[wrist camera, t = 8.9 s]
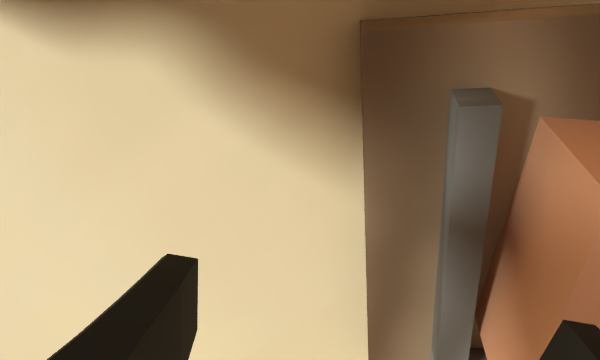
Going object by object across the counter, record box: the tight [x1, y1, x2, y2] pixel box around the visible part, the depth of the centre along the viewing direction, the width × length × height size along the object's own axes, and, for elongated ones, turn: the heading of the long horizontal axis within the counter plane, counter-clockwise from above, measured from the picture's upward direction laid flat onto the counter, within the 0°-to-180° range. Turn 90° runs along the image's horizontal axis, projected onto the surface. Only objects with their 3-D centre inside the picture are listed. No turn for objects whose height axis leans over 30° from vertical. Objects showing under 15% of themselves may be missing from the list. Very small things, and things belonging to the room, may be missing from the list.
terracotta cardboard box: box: [474, 116, 600, 360], centre depth 15 cm, size 4×9×5 cm, turn 178°
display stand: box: [360, 4, 600, 360], centre depth 17 cm, size 14×16×3 cm
